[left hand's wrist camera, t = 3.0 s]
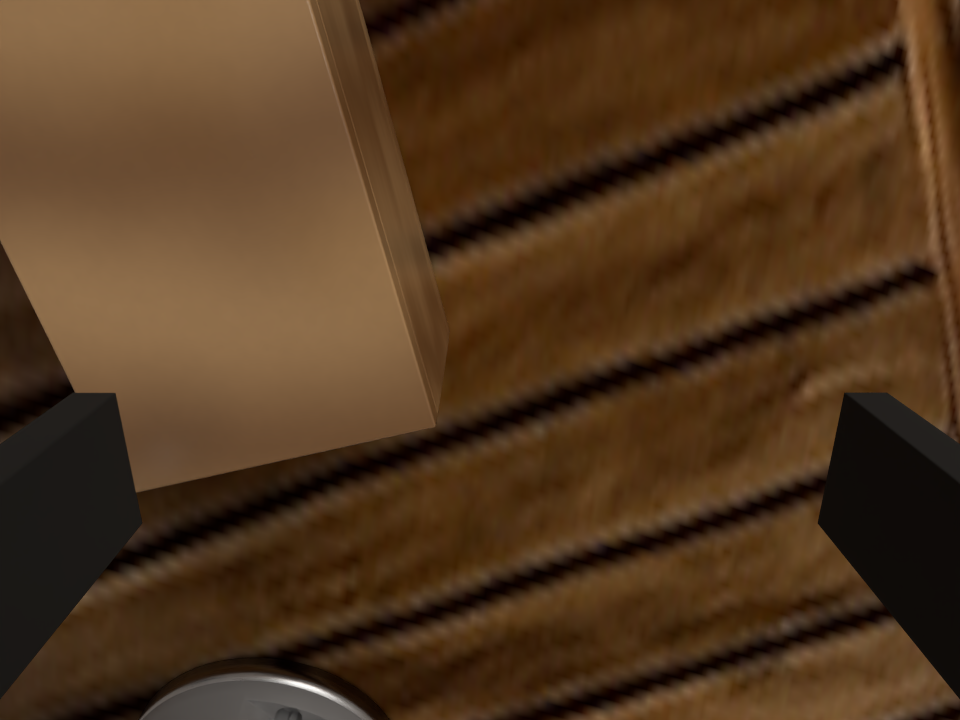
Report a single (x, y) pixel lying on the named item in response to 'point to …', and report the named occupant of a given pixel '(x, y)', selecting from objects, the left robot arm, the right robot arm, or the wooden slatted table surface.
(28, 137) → the cabinet
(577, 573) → the wooden slatted table surface
